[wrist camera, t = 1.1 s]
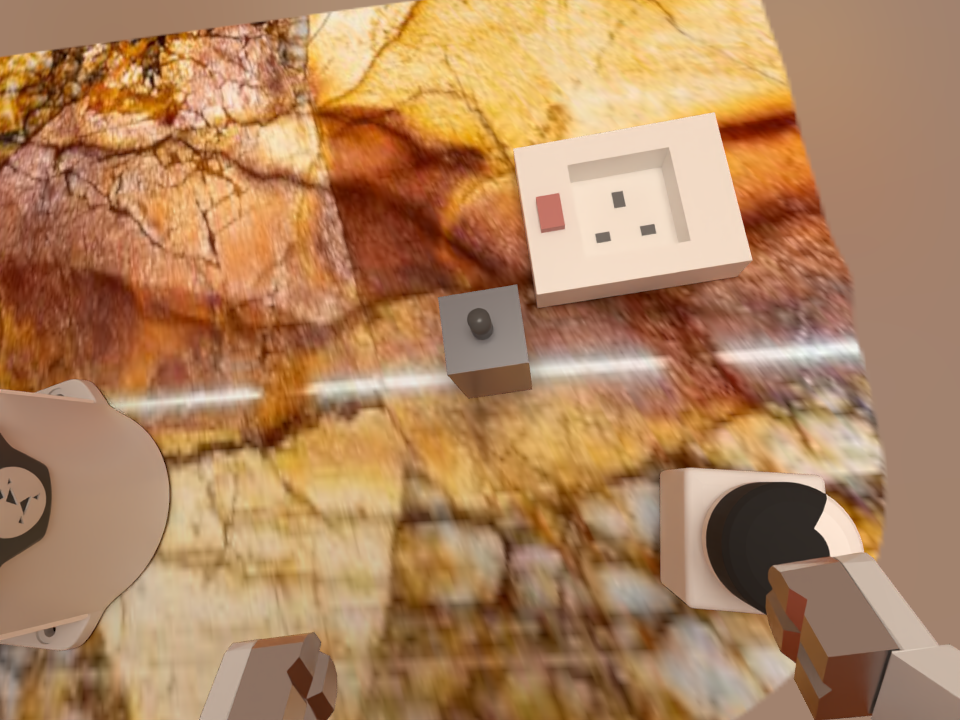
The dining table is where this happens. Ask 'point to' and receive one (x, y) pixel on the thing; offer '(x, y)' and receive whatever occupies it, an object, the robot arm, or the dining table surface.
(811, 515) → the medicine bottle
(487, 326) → the plug
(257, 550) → the dining table surface
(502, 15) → the dining table surface
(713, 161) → the socket
